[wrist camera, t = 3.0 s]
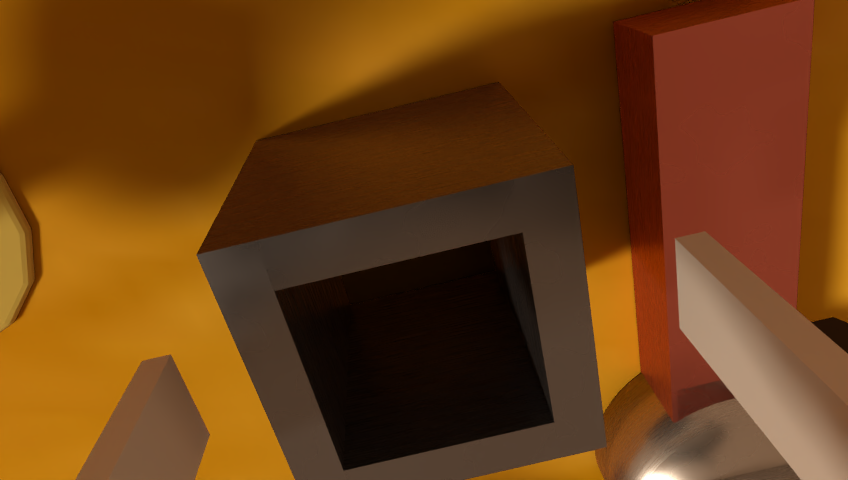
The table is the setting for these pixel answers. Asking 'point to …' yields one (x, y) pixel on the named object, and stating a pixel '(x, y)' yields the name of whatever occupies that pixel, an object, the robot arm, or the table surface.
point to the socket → (412, 293)
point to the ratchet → (705, 215)
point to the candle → (13, 256)
